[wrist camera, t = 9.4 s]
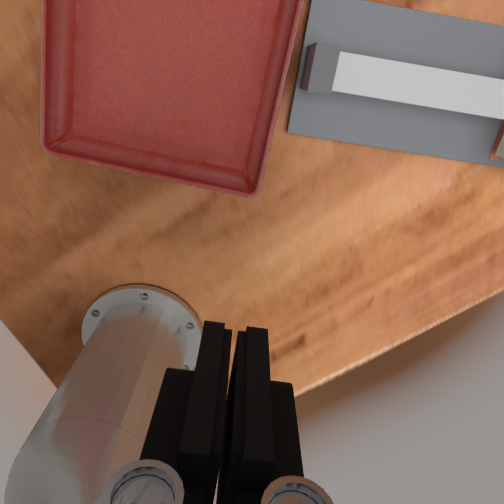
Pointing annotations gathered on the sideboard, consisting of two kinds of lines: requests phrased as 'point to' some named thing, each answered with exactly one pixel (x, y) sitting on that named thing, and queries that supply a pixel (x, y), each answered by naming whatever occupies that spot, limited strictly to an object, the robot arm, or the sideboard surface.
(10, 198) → the sideboard surface
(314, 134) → the gray slide rail base
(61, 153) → the plant saucer
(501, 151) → the white sliding block
